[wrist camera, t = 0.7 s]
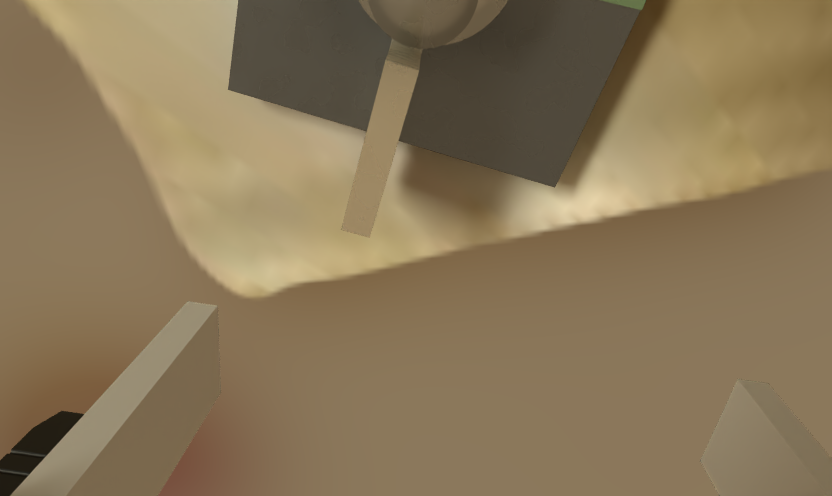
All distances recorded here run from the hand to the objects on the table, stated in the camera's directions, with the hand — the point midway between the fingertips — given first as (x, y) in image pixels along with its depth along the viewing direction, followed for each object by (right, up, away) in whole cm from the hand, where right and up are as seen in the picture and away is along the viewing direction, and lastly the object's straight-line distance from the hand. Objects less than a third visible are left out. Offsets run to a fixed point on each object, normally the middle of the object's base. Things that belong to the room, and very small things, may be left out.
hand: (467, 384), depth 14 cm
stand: (0, +18, +15) cm, 24 cm away
